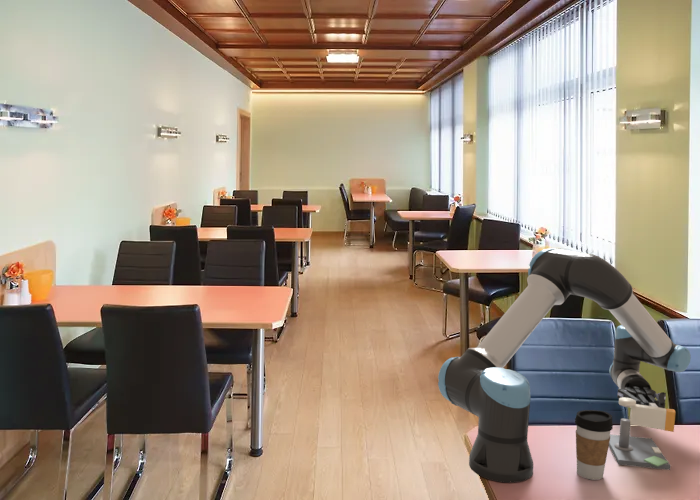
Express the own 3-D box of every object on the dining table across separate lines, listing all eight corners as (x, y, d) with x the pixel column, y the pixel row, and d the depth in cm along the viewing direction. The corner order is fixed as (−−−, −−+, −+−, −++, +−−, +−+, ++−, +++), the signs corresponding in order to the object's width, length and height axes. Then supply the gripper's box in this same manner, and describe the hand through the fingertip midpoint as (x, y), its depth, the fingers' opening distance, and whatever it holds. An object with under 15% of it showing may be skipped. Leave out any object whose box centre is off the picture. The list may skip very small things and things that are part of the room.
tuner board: (619, 467, 152) (620, 461, 152) (604, 438, 169) (604, 432, 169) (672, 472, 150) (672, 466, 149) (651, 442, 167) (651, 437, 166)
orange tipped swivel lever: (615, 447, 159) (619, 401, 158) (615, 441, 163) (619, 396, 161) (671, 457, 154) (676, 410, 153) (670, 451, 158) (674, 404, 156)
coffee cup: (612, 484, 143) (617, 422, 141) (574, 480, 145) (578, 419, 143) (604, 468, 151) (609, 409, 149) (568, 464, 153) (572, 405, 151)
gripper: (656, 400, 180) (685, 433, 157) (609, 396, 182) (631, 428, 159) (658, 375, 179) (688, 405, 156) (611, 372, 181) (633, 401, 158)
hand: (659, 417), depth 157 cm, fingers closed
